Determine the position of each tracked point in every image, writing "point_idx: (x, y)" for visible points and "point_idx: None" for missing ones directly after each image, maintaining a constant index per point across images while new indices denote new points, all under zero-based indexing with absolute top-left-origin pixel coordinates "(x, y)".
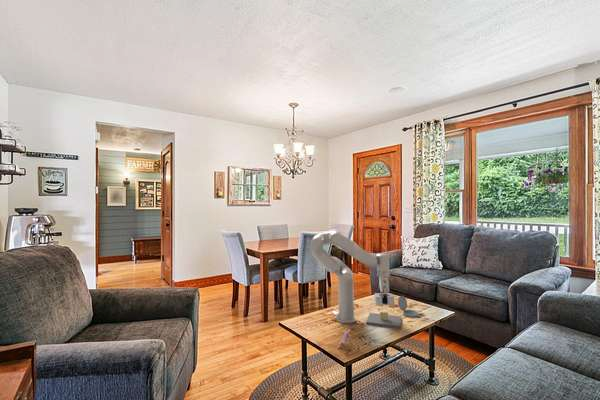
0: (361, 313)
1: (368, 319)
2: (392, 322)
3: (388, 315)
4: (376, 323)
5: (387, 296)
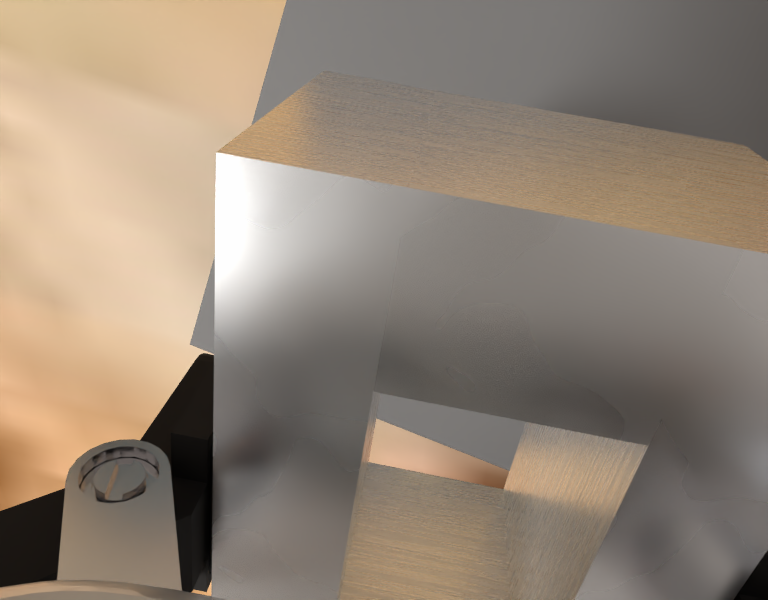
0: (158, 408)
1: (452, 432)
2: (643, 117)
3: (298, 75)
4: None
5: (690, 538)
